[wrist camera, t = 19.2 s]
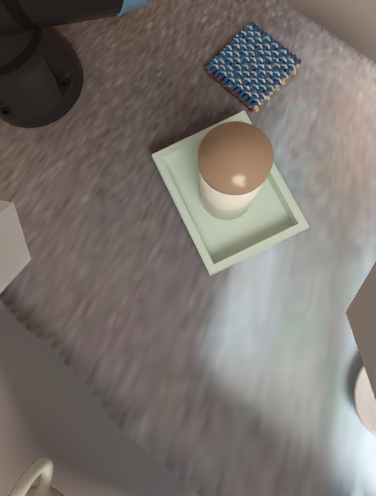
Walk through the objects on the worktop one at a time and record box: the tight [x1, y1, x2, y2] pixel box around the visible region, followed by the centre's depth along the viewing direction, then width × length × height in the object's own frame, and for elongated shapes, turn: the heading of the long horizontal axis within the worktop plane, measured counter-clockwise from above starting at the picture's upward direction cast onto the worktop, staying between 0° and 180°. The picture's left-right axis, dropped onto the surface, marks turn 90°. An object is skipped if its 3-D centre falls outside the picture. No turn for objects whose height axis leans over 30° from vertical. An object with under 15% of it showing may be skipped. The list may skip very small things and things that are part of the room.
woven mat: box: [206, 22, 301, 112], centre depth 44 cm, size 10×11×2 cm
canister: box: [198, 121, 274, 220], centre depth 36 cm, size 7×7×12 cm
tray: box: [152, 110, 309, 276], centre depth 41 cm, size 18×14×2 cm
